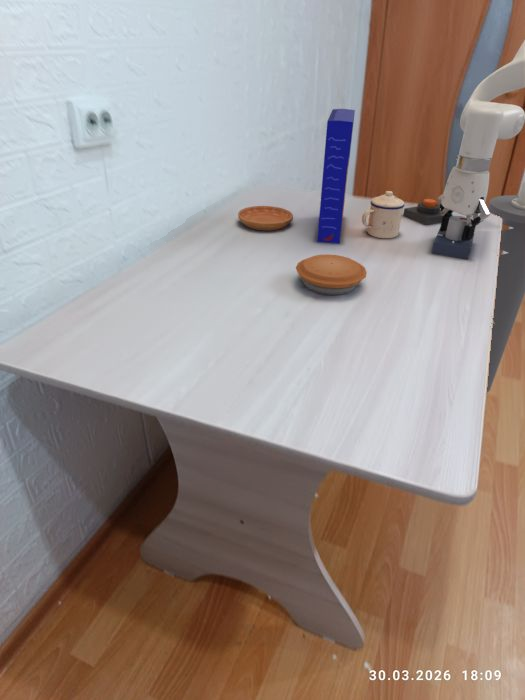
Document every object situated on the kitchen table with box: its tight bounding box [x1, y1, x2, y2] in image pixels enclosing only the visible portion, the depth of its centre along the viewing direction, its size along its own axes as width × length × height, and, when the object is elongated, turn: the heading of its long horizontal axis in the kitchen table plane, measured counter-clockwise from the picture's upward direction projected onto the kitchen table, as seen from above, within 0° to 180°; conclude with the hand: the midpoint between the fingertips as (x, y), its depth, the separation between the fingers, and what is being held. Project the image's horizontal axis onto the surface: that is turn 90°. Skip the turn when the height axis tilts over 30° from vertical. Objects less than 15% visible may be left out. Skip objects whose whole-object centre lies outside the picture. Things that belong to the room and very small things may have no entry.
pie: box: [295, 253, 367, 296], centre depth 106 cm, size 15×16×5 cm
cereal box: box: [316, 108, 356, 244], centre depth 129 cm, size 22×6×30 cm, turn 170°
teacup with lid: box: [361, 190, 405, 239], centre depth 132 cm, size 12×9×12 cm
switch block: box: [402, 201, 453, 226], centre depth 147 cm, size 10×10×4 cm
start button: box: [423, 198, 437, 207], centre depth 145 cm, size 4×4×2 cm
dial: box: [445, 215, 467, 241], centre depth 124 cm, size 5×5×5 cm
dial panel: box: [431, 228, 475, 260], centre depth 126 cm, size 12×9×3 cm
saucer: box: [237, 205, 294, 232], centre depth 140 cm, size 16×16×3 cm
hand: (455, 234), depth 125 cm, fingers open, 6 cm apart
